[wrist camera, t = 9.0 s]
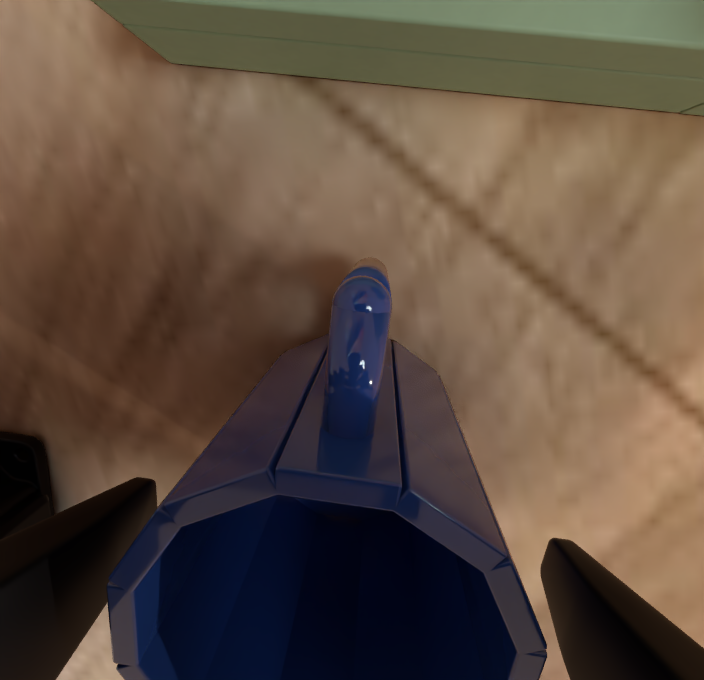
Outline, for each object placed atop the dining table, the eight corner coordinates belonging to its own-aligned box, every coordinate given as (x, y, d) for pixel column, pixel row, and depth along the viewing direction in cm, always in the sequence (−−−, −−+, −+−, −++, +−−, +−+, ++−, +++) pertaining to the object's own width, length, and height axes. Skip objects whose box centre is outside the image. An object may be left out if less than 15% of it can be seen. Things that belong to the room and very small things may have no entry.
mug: (248, 501, 14) (120, 761, 7) (259, 239, 11) (72, 254, 4) (435, 529, 13) (488, 827, 7) (490, 267, 11) (665, 328, 4)
